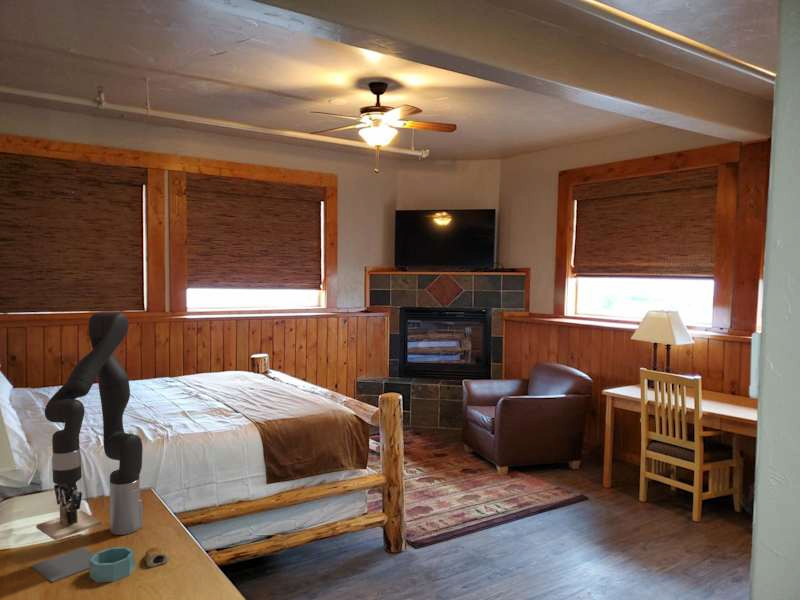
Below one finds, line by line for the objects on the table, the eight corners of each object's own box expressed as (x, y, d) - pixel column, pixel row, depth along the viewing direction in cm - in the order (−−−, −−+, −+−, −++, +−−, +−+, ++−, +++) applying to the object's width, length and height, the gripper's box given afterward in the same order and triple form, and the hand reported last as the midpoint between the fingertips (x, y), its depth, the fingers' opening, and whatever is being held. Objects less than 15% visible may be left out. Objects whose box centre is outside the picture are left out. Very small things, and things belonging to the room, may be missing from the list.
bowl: (121, 559, 181) (121, 543, 180) (140, 570, 174) (140, 554, 174) (84, 573, 172) (84, 557, 172) (102, 586, 165) (102, 568, 165)
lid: (81, 513, 186) (80, 494, 186) (101, 524, 178) (100, 505, 178) (36, 528, 176) (35, 508, 176) (55, 540, 168) (54, 519, 168)
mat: (83, 548, 188) (83, 547, 188) (105, 562, 179) (105, 561, 179) (31, 566, 176) (31, 565, 176) (52, 582, 167) (52, 581, 167)
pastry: (141, 556, 183) (141, 544, 183) (164, 551, 187) (164, 539, 187) (147, 569, 175) (147, 556, 175) (171, 563, 179) (171, 551, 179)
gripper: (90, 466, 175) (92, 523, 176) (69, 457, 183) (71, 511, 184) (63, 473, 169) (66, 532, 170) (43, 463, 177) (45, 519, 178)
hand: (68, 520), depth 177 cm, fingers closed on lid, 3 cm apart
